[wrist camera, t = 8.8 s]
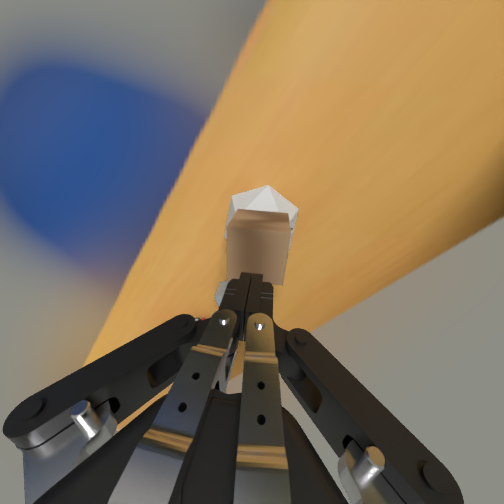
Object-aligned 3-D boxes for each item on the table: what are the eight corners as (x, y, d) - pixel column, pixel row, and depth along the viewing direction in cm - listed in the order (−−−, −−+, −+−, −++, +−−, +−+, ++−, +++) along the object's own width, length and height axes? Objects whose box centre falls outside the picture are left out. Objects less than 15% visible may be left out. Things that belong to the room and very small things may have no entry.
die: (262, 250, 32) (306, 269, 23) (209, 244, 27) (239, 264, 19) (273, 197, 30) (323, 197, 22) (219, 182, 26) (257, 174, 18)
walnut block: (288, 212, 20) (290, 232, 16) (282, 257, 22) (283, 285, 18) (237, 208, 20) (226, 227, 16) (236, 252, 23) (227, 279, 18)
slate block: (242, 277, 34) (238, 293, 30) (249, 295, 35) (246, 312, 32) (220, 281, 35) (214, 297, 31) (228, 299, 36) (223, 316, 33)
